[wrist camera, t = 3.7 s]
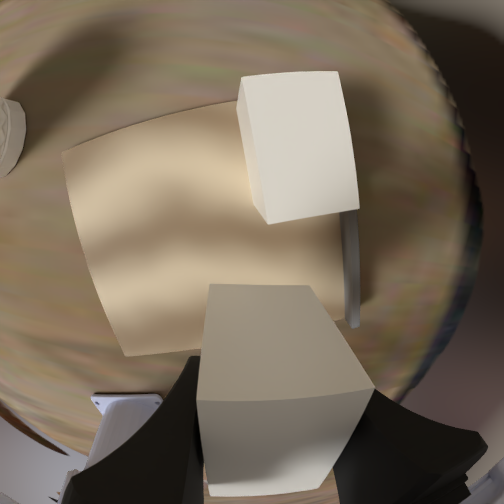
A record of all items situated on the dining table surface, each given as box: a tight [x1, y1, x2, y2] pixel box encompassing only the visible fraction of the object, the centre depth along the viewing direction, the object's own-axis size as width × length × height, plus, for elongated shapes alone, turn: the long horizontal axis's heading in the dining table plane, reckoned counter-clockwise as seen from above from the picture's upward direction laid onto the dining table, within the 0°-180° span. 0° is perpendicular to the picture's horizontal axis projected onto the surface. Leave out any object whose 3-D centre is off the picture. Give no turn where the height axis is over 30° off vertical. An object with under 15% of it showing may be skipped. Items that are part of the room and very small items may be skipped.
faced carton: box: [236, 71, 360, 225], centre depth 13 cm, size 4×6×6 cm
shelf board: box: [61, 101, 360, 356], centre depth 17 cm, size 16×18×2 cm
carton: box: [196, 284, 375, 496], centre depth 9 cm, size 4×6×6 cm
